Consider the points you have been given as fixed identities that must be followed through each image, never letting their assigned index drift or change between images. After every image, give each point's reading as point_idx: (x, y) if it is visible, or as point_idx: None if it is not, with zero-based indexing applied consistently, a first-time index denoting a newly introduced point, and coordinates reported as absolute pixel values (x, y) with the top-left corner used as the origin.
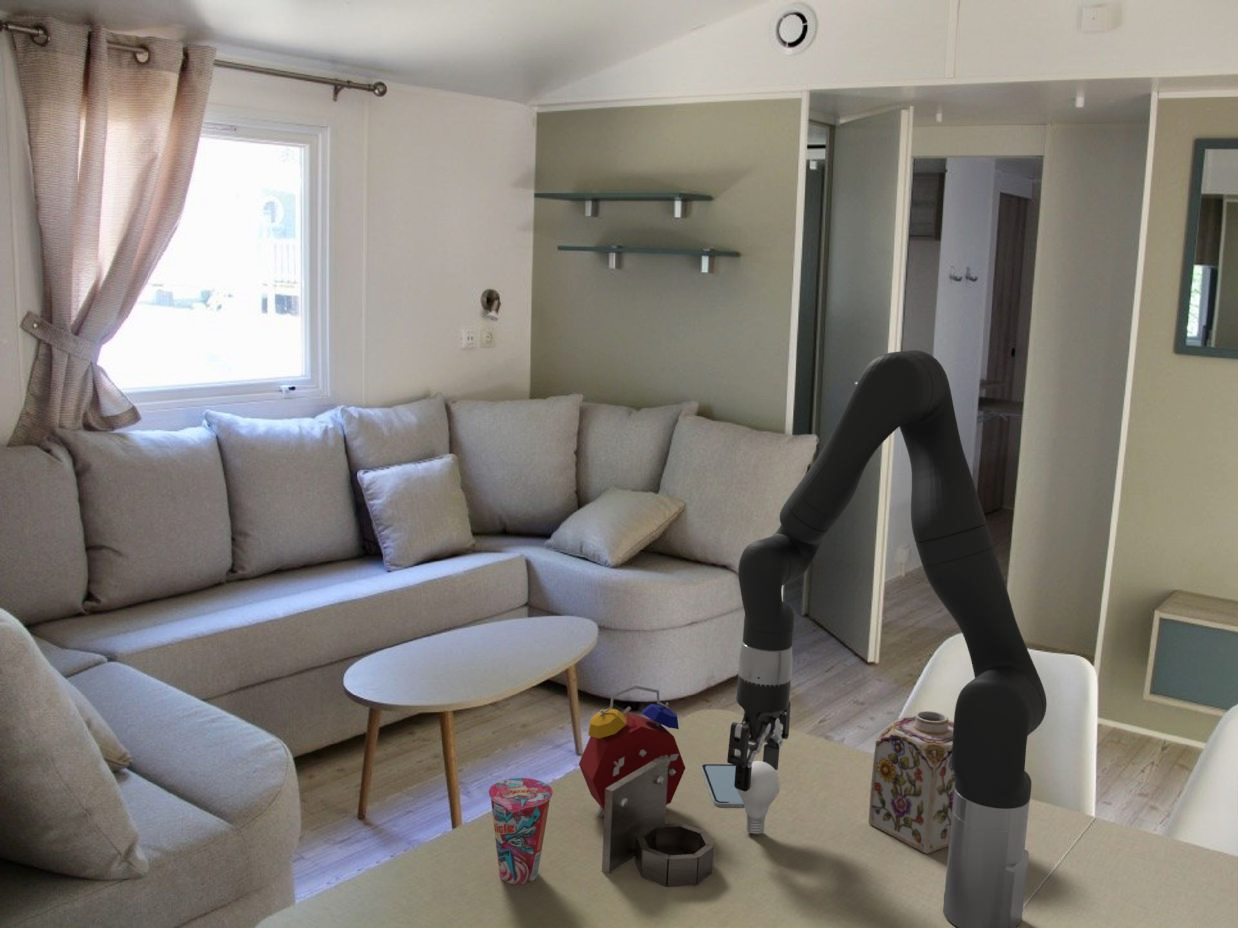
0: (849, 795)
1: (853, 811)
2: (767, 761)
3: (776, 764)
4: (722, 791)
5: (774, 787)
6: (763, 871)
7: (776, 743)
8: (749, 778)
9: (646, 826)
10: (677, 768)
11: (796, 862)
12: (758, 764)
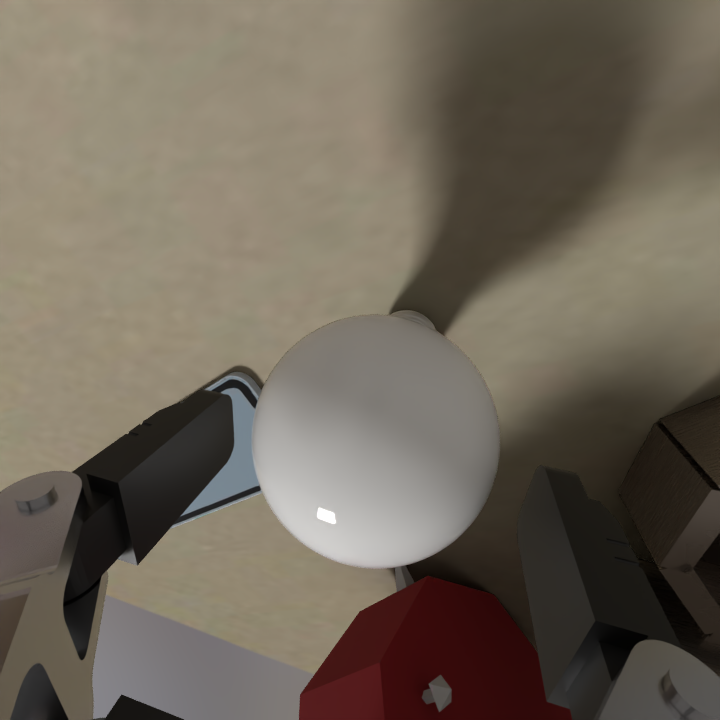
0: (4, 154)
1: (72, 90)
2: (205, 461)
3: (199, 410)
4: (244, 468)
5: (419, 341)
6: (699, 210)
7: (80, 528)
8: (591, 531)
9: (690, 633)
10: (403, 682)
11: (562, 115)
12: (371, 527)
